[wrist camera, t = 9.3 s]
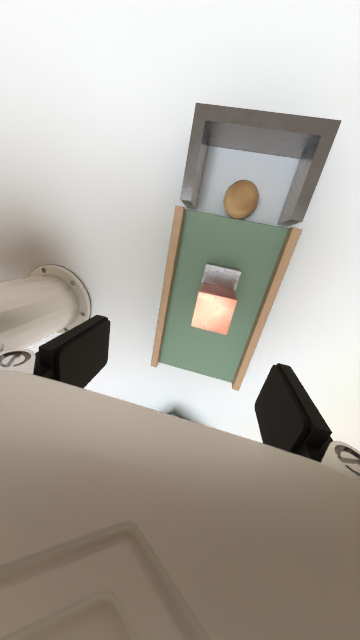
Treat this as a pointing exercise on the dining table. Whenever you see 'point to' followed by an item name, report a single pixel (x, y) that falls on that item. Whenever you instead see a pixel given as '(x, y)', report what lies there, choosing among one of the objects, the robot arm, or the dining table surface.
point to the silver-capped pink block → (216, 298)
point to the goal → (261, 148)
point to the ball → (241, 199)
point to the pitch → (251, 292)
